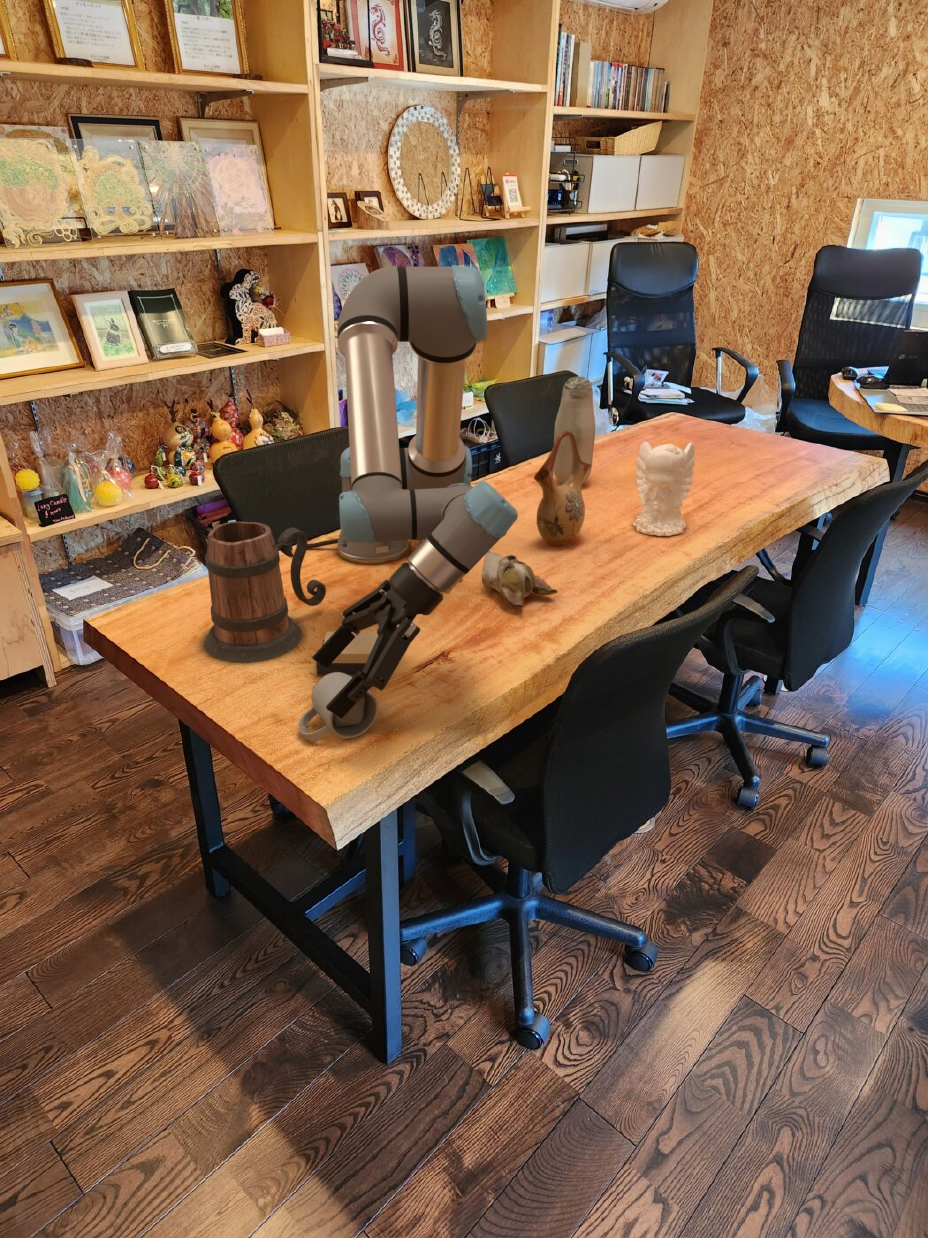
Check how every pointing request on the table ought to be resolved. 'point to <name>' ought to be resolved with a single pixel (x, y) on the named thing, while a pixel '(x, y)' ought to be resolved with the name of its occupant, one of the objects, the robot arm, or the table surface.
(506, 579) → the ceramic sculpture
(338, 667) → the stone
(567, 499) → the ceramic vessel
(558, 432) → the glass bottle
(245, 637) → the tankard
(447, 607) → the table surface
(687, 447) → the cherub figurine
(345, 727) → the ceramic mug
